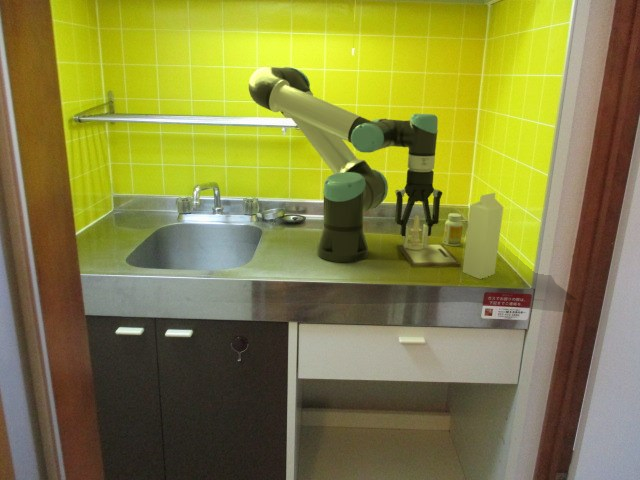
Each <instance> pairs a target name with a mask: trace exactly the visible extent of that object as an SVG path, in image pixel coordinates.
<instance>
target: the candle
mask: <svg viewBox="0 0 640 480" xmlns="http://www.w3.org/2000/svg"><path fill="white" fill-rule="evenodd" d="M409 232H411V237H410V238H409V241H410V242H408V246H407V248H409V249H413V250H420V249H423V247H424V246H423V245H422V243H420V242H422V239H421V238H420V232H421V233H423V228H420V215H418V214H415V215H414V218H413V227H411V228H409Z"/></svg>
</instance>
